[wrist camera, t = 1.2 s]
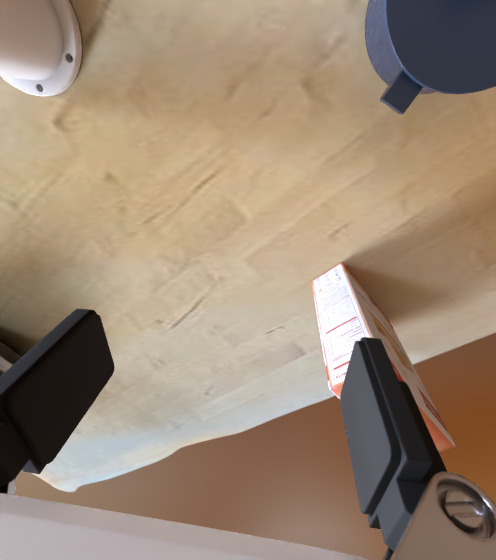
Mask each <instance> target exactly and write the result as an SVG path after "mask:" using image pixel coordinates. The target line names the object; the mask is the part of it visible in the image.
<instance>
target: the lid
mask: <svg viewBox="0 0 496 560" xmlns="http://www.w3.org/2000/svg"><path fill="white" fill-rule="evenodd" d="M384 22H385V30H386V34H387V39H388V42H389V45H390V48H391V51H392V53H393V55H394V57H395V59H396V61H397V63H398V64H399V66H400V67H401V68H402V70H403V71H404V72H405V73H406V74H407V75H408V76H409V77H410V78H411V79H412V80H413V81H414V82H416V83H418V84H419V85H421V86H422V87H424V88H427V89H429V90H432V91H435V92H440V93H444V94H465V93H473V92H478V91H482V90H486V89H489V88H492V87H495V86H496V0H384Z"/></svg>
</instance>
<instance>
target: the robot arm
mask: <svg viewBox="0 0 496 560" xmlns="http://www.w3.org/2000/svg"><path fill="white" fill-rule="evenodd" d="M81 56H82V44H81V34H80V30H79V26H78V21H77V18H76V16H75V13H74V10H73V8H72V5H71V3H70V2H69V0H0V76H1V77H3V78H4V79H5V80H6V81H7V82H8V83H10V84H11V85H13V86H14V87H16V88H17V89H19V90H21V91H23V92H25V93H29V94H32V95H36V96H54V95H57V94H60V93H62V92H64V91H65V90H66V89H68V88H69V87H70V86H71V84H72V83H73V82H74V81H75V78H76V76H77V74H78V72H79V68H80V64H81ZM113 372H114V363H113V359H112V356H111V353H110V349H109V346H108V342H107V339H106V335H105V332H104V328H103V325H102V321H101V318H100V316H99V315H98V314H97V313H96V312H95V311H94V310H88V309H76V310H74V311H73V312H72V313H71V314H70V315H69V316H67V317H66V318H65V319H64V320H63V321H62V322H61V323H60V324H58V325H57V326H56V327H55V328H54V329H53V330H52V331H51V332H49V333H48V334H47V335H46V336H45V337H44V338H43V339H42V340H40V341H39V342H38V343H37V344H36V345H35V346H34V347H33V348H31V349H30V350H29V351H28V352H27V353H26V354H25V355H24V356H22V357H21V358H20V359H19V360H18V361H17V362H16V363H15V364H13V365H12V366H11V367H10V368H9V369H8V370H7V371H6V372H4V373H3V374H2V375H1V376H0V560H371V559H367V558H363V557H359V556H355V555H351V554H347V553H342V552H337V551H332V550H327V549H322V548H317V547H312V546H307V545H301V544H297V543H291V542H286V541H281V540H275V539H270V538H263V537H257V536H252V535H246V534H241V533H235V532H230V531H224V530H218V529H213V528H207V527H201V526H196V525H190V524H184V523H178V522H172V521H166V520H160V519H155V518H149V517H142V516H137V515H131V514H125V513H119V512H113V511H107V510H101V509H96V508H90V507H84V506H77V505H71V504H65V503H59V502H53V501H47V500H41V499H35V498H29V497H23V496H17V495H15V492H16V476H17V475H18V474H19V472H20V471H21V470H23V471H24V472H30V473H36V474H40V473H41V471H42V470H43V469H44V467H45V466H46V464H49V463H50V462H52V461H53V460H54V458H55V457H56V456H57V454H58V453H59V451H60V450H61V448H62V447H63V445H64V444H65V443H66V441H67V440H68V438H69V437H70V435H71V434H72V432H73V431H74V430H75V428H76V427H77V425H78V424H79V422H80V421H81V419H82V418H83V416H84V415H85V414H86V412H87V411H88V409H89V408H90V406H91V405H92V403H93V402H94V401H95V399H96V398H97V396H98V395H99V393H100V392H101V390H102V389H103V388H104V386H105V385H106V383H107V382H108V380H109V379H110V377H111V376H112V374H113ZM340 402H341V408H342V413H343V419H344V424H345V429H346V435H347V441H348V446H349V451H350V457H351V462H352V468H353V473H354V478H355V484H356V489H357V495H358V500H359V505H360V509H361V512H362V513H363V514H367V516H368V521H369V526H370V527H371V528H377V529H381V531H382V535H383V540H384V542H385V543H386V545H387V546H388V547H387V549H386V551H385V553H384V555H383V557H382V559H381V560H496V505H495V503H494V502H493V501H492V500H491V499H490V497H489V496H488V495H487V494H486V493H485V492H484V491H483V490H482V489H481V488H480V487H478V486H477V485H476V484H475V483H473V482H472V481H470V480H469V479H467V478H465V477H463V476H461V475H458V474H455V473H453V472H447V470H446V468H445V466H444V463H443V461H442V459H441V457H440V455H439V452H438V450H437V448H436V446H435V443H434V441H433V439H432V437H431V434H430V432H429V430H428V428H427V426H426V423H425V421H424V419H423V417H422V415H421V412H420V410H419V408H418V406H417V403H416V401H415V399H414V397H413V395H412V392H411V390H410V388H409V386H408V385H407V383H406V382H405V381H399V380H398V378H397V376H396V373H395V371H394V369H393V366H392V364H391V362H390V359H389V357H388V354H387V352H386V350H385V347H384V345H383V343H382V341H381V339H379V338H369V337H362V338H361V340H360V341H355V343H354V347H353V350H352V354H351V358H350V361H349V365H348V368H347V372H346V375H345V379H344V383H343V386H342V390H341V394H340Z"/></svg>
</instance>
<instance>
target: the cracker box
mask: <svg viewBox="0 0 496 560" xmlns="http://www.w3.org/2000/svg"><path fill="white" fill-rule="evenodd" d="M311 283H312V288H313V294H314V300H315V306H316V312H317V318H318V324H319V330H320V336H321V342H322V348H323V354H324V360H325V366H326V372H327V379H328V384H329V389H330V390H331V391H332V392H333V393H334V394H335V395H336V396H337V397H338V398H339V399H340V394H341V390H342V386H343V383H344V379H345V375H346V372H347V368H348V365H349V361H350V358H351V354H352V350H353V347H354V343H355V341H360V340H361V338H362V337H369V338H379V339H381V341H382V343H383V345H384V347H385V350H386V352H387V354H388V357H389V359H390V362H391V364H392V366H393V369H394V371H395V373H396V376H397V378H398V380H399V381H405V382H406V383H407V385H408V386H409V388H410V390H411V392H412V395H413V397H414V399H415V401H416V403H417V406H418V408H419V410H420V412H421V415H422V417H423V419H424V421H425V423H426V426H427V428H428V430H429V432H430V434H431V437H432V439H433V441H434V443H435V446H436V448H437V450H438V452H439V451H443V450H447V449H449V448H451V447H454V446H455V445H454V443H453V441H452V439H451V437H450V435H449V433H448V431H447V429H446V427H445V425H444V424H443V422H442V420H441V418H440V416H439V414H438V412H437V411H436V409H435V407H434V405H433V403H432V401H431V399H430V398H429V396H428V394H427V392H426V390H425V388H424V386H423V384H422V382H421V381H420V378H419V377H418V375H417V373H416V371H415V369H414V367H413V365H412V363H411V361H410V360H409V358H408V356H407V354H406V352H405V350H404V348H403V346H402V344H401V342H400V341H399V339H398V337H397V335H396V333H395V331H394V329H393V327H392V325H391V324H390V322H389V321H388V320H387V318H386V317H385V316H384V314H383V313H382V312H381V311H380V309H379V308H378V307H377V306H376V304H375V303H374V302H373V301H372V299H371V298H370V297H369V295H368V294H367V293H366V292H365V290H364V289H363V288H362V287H361V285H360V284H359V283H358V282H357V280H356V279H355V278H354V277H353V275H352V274H351V273H350V271H349V270H348V269H347V268H346V266H345V265H344V264H343V263H340V264H338V265H337V266H335V267H334V268H332V269H331V270H329V271H327V272H326V273H324V274H323V275H321V276H320V277H318V278H317V279H315V280H314V281H312V282H311Z"/></svg>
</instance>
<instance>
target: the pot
mask: <svg viewBox="0 0 496 560" xmlns="http://www.w3.org/2000/svg"><path fill="white" fill-rule="evenodd" d="M365 39H366V47H367V51H368V55H369V58H370V60H371V63H372V65H373V67H374V69H375V70H376V72H377V73H378V75H379V76H380V77H381V78H382V79H383V80H384V81H385V82H386V83H387V84H389V87H388V88H387V90H386V91H385V92H384V94H383V95H382V97H381V98H380V101H382V102H383V103H385V104H386V105H387V106H389V107H390V108H391V109H393V110H394V111H396V112H397V113H398V114H403V113H404V112H405V111H406V109H407V108H408V107H409V105H410V104H411V103H412V101H413V100H414V99H415V97H416V96H417V95H418V93H419V94H428V93H433V92H435V91H432V90H429V89H427V88H424V87H422V86H421V85H419V84H418V83H416V82H414V81H413V80H412V79H411V78H410V77H409V76H408V75H407V74H406V73H405V72H404V71H403V70H402V68H401V67H400V66H399V64H398V63H397V61H396V59H395V57H394V55H393V53H392V51H391V48H390V45H389V42H388V39H387V34H386V30H385V22H384V0H369V2H368V7H367V12H366V19H365Z"/></svg>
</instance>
